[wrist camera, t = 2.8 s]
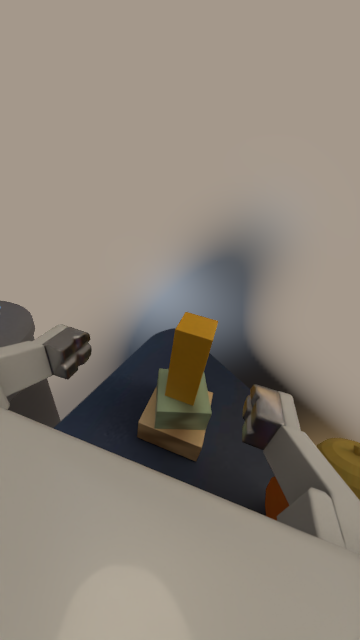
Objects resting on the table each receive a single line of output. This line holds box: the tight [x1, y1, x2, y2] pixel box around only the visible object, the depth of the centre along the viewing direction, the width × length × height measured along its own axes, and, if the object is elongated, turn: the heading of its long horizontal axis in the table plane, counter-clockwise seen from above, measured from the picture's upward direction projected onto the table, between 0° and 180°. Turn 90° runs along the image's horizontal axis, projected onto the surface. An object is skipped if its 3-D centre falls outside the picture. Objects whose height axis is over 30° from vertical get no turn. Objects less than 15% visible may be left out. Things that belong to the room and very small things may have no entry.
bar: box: [165, 312, 218, 406], centre depth 25 cm, size 4×4×11 cm
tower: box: [137, 369, 213, 461], centre depth 30 cm, size 9×9×8 cm
